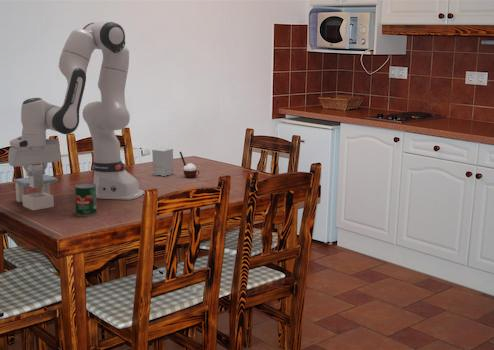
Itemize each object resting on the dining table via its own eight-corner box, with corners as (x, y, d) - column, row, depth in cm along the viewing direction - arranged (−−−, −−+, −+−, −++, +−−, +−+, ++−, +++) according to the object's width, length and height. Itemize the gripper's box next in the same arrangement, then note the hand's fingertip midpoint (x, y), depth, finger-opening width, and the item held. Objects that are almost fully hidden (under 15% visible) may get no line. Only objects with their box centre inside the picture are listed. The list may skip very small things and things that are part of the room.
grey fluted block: (173, 174, 322) (173, 148, 320) (164, 177, 316) (163, 151, 314) (162, 172, 326) (161, 147, 324) (152, 175, 320) (151, 149, 317)
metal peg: (43, 186, 260) (42, 164, 258) (33, 188, 257) (32, 165, 255) (38, 185, 262) (37, 162, 261) (29, 186, 260) (28, 164, 258)
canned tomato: (77, 216, 248) (76, 188, 245) (74, 211, 255) (72, 183, 252) (98, 214, 251) (97, 186, 248) (94, 209, 258) (93, 182, 256)
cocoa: (200, 177, 317) (202, 153, 315) (192, 179, 312) (194, 154, 309) (185, 174, 322) (186, 150, 320) (177, 176, 317) (178, 151, 314)
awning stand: (69, 203, 266) (68, 182, 264) (32, 210, 256) (31, 187, 254) (47, 195, 279) (46, 174, 277) (12, 201, 269) (10, 179, 267)
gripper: (55, 137, 265) (56, 170, 268) (5, 141, 251) (7, 177, 254) (62, 138, 261) (64, 173, 264) (12, 143, 247) (14, 179, 250)
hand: (35, 175), depth 259 cm, fingers closed on metal peg, 4 cm apart
